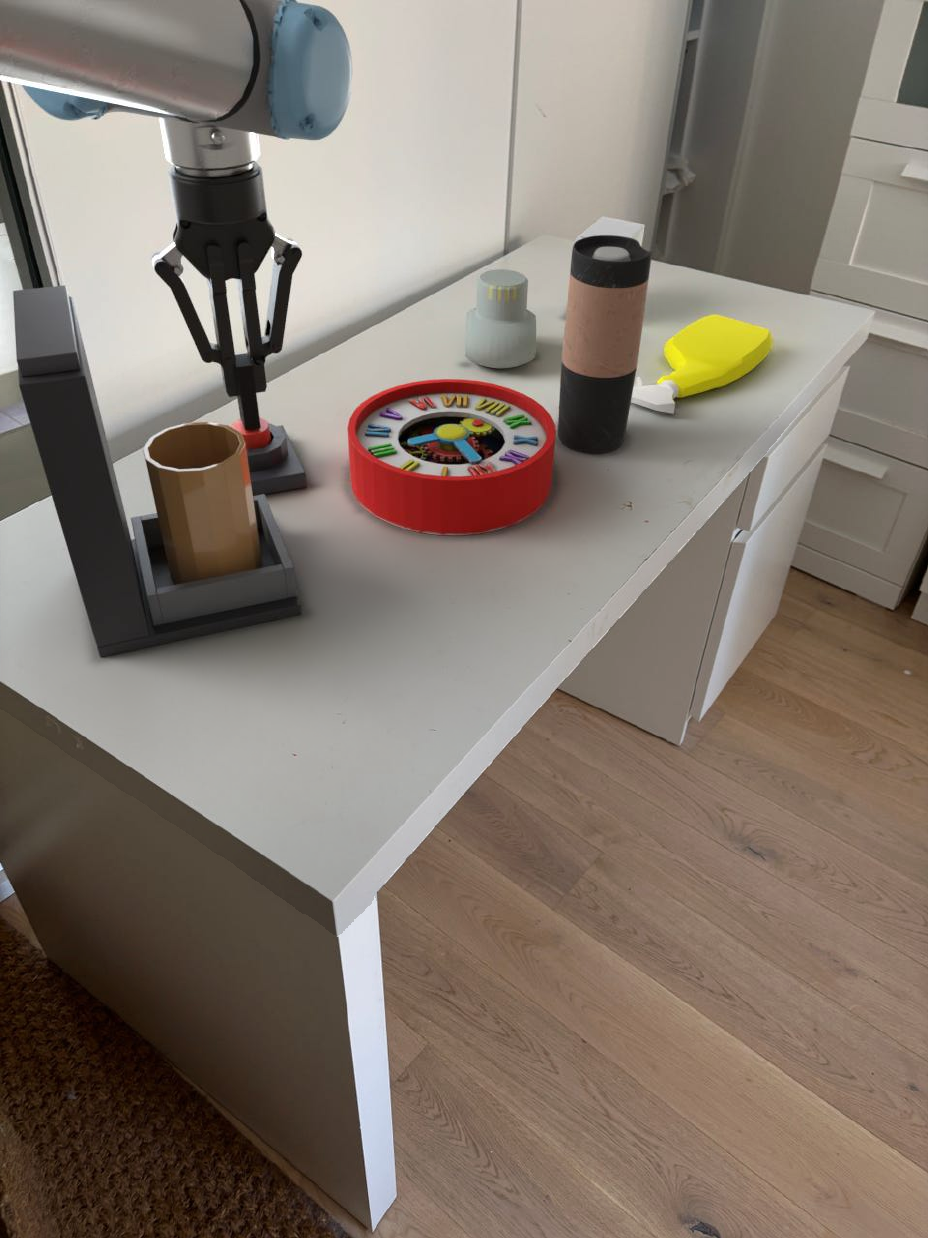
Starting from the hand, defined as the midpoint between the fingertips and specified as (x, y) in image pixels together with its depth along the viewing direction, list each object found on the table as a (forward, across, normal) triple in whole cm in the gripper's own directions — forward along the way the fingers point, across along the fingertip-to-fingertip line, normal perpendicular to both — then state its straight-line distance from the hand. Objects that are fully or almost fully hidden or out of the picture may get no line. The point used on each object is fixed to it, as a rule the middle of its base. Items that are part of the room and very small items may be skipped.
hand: (250, 422), depth 94 cm
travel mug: (+5, +35, -5) cm, 36 cm away
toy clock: (+5, +18, -8) cm, 20 cm away
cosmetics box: (+6, +52, +26) cm, 58 cm away
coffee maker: (+5, -9, -17) cm, 20 cm away
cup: (+4, -7, -17) cm, 19 cm away
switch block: (+5, 0, 0) cm, 5 cm away
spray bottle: (+6, +53, +4) cm, 54 cm away
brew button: (+2, 0, 0) cm, 2 cm away
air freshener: (+5, +33, +16) cm, 37 cm away
